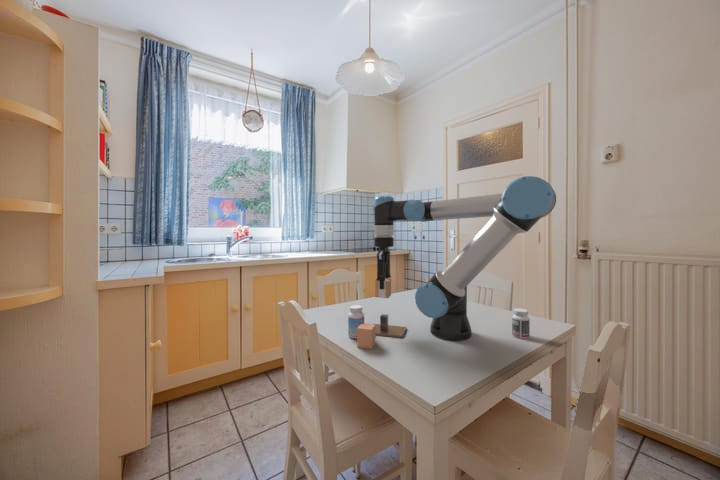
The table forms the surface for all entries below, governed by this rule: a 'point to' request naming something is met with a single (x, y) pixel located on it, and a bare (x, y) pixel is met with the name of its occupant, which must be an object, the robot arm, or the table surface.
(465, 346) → the table surface
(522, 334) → the pill bottle
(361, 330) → the peach cardboard cube
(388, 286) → the salmon pink cube
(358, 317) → the pill bottle
